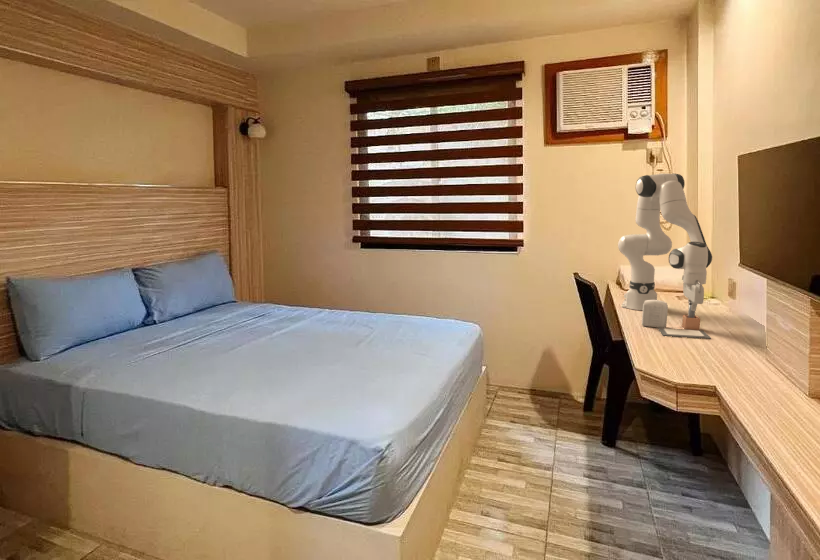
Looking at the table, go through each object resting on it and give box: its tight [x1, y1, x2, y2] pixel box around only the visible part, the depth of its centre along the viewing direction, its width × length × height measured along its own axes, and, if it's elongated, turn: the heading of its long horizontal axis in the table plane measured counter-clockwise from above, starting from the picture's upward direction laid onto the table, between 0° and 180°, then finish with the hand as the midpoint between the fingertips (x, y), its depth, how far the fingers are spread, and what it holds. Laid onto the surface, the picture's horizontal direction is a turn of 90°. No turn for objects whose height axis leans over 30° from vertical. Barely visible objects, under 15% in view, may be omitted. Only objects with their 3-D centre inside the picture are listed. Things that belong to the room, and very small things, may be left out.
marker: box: [687, 302, 696, 318], centre depth 226 cm, size 3×3×11 cm
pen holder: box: [681, 314, 701, 330], centre depth 227 cm, size 6×6×6 cm
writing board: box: [657, 327, 712, 340], centre depth 219 cm, size 12×18×1 cm, turn 74°
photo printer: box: [641, 299, 669, 328], centre depth 231 cm, size 10×4×12 cm, turn 61°
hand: (692, 309), depth 226 cm, fingers closed on marker, 3 cm apart
